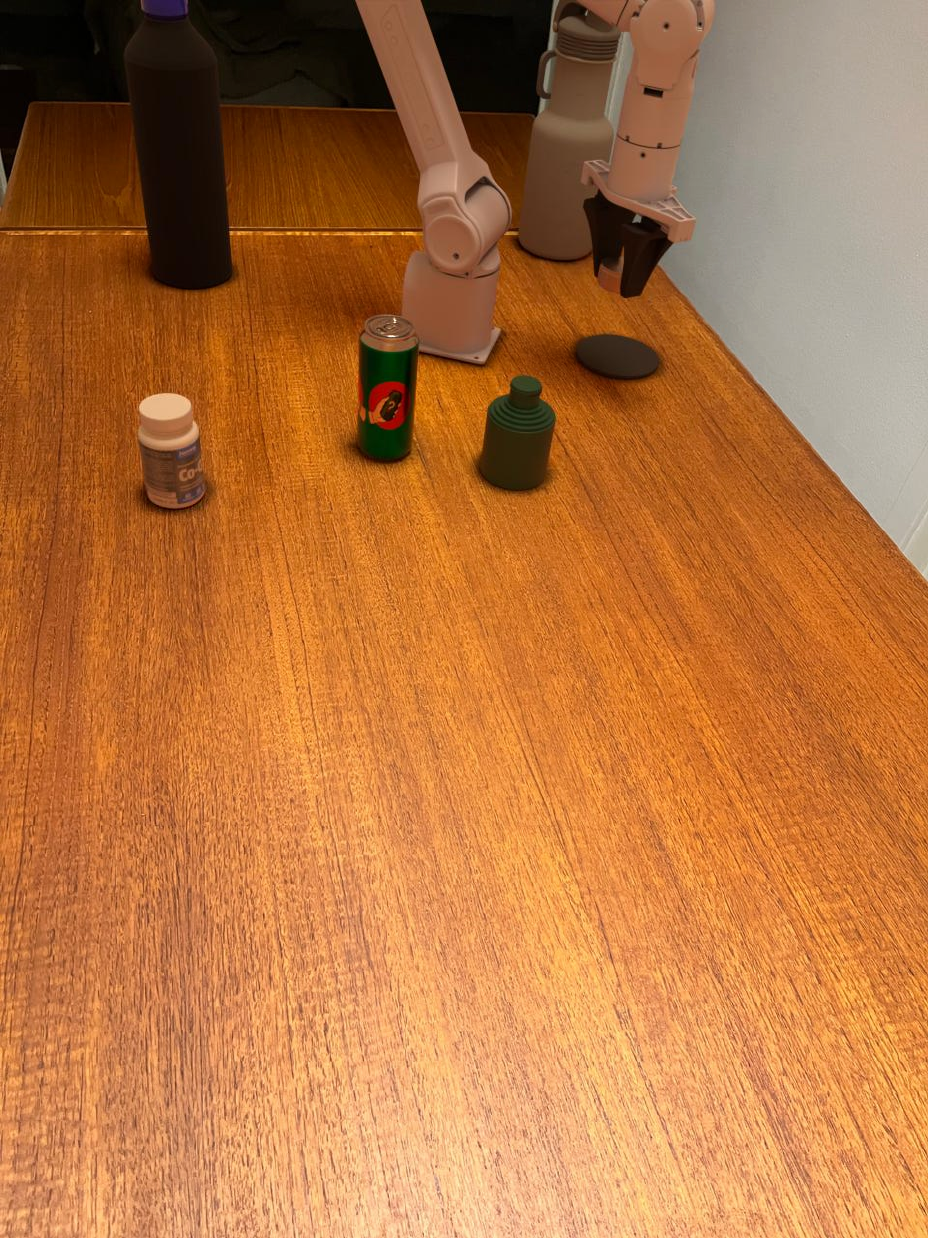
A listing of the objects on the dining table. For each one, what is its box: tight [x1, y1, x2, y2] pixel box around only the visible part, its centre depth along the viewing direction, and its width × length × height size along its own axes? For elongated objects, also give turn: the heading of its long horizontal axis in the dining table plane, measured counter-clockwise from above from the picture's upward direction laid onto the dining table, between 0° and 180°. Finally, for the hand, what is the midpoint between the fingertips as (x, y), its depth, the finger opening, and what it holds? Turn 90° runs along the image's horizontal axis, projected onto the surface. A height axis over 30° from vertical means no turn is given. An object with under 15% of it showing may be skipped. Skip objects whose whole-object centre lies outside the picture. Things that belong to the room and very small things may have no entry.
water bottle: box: [517, 0, 622, 261], centre depth 116 cm, size 10×10×28 cm
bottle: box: [123, 0, 233, 289], centre depth 101 cm, size 9×9×28 cm
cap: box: [596, 255, 624, 295], centre depth 94 cm, size 4×4×2 cm
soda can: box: [356, 314, 420, 461], centre depth 85 cm, size 5×5×12 cm
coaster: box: [575, 333, 660, 380], centre depth 105 cm, size 9×9×1 cm
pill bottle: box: [137, 392, 206, 509], centre depth 78 cm, size 5×5×8 cm
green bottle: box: [479, 374, 557, 491], centre depth 85 cm, size 6×6×9 cm
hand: (617, 285), depth 94 cm, fingers closed on cap, 4 cm apart
